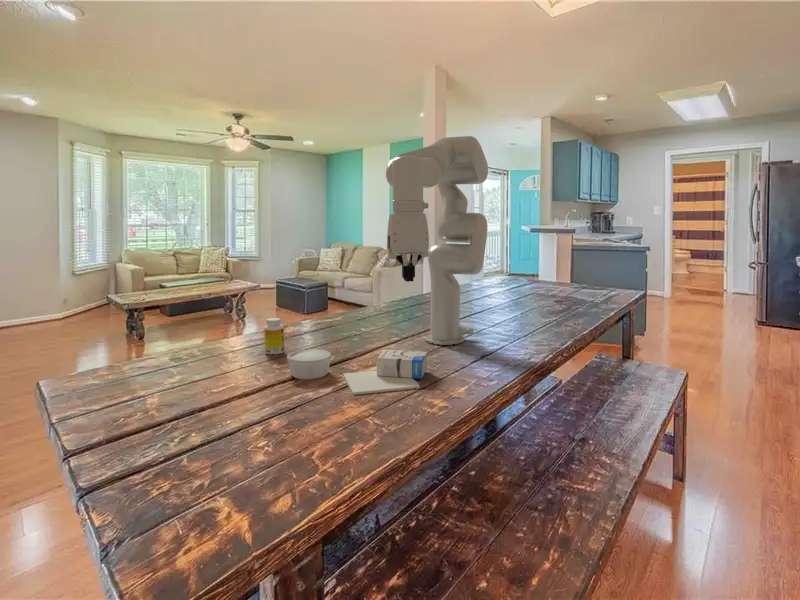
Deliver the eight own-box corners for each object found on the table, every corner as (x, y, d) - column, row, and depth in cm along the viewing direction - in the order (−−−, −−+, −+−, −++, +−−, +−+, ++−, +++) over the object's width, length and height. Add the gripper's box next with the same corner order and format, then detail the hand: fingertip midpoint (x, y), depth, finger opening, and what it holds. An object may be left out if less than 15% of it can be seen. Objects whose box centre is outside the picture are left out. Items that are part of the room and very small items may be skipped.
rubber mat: (403, 370, 128) (403, 368, 128) (419, 388, 115) (419, 385, 115) (343, 375, 124) (343, 373, 124) (353, 394, 111) (353, 392, 111)
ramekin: (293, 367, 131) (292, 348, 130) (334, 367, 131) (334, 348, 130) (282, 381, 120) (281, 360, 119) (327, 381, 120) (327, 361, 119)
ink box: (422, 360, 119) (376, 357, 121) (422, 379, 119) (375, 376, 122) (427, 351, 127) (383, 348, 129) (427, 369, 128) (383, 365, 130)
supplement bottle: (285, 354, 143) (284, 320, 142) (266, 355, 142) (264, 321, 140) (283, 349, 149) (281, 316, 147) (264, 351, 147) (262, 317, 145)
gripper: (430, 207, 126) (430, 277, 130) (375, 208, 122) (376, 280, 126) (441, 207, 119) (441, 281, 123) (383, 208, 115) (384, 284, 119)
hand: (408, 280), depth 124 cm, fingers closed
